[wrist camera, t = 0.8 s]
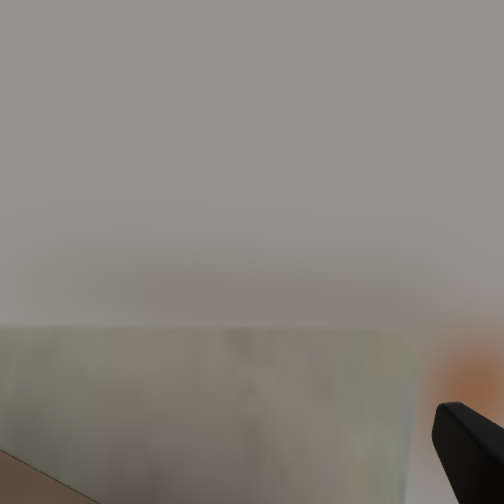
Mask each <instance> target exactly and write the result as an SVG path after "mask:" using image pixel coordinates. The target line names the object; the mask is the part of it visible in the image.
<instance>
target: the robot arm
mask: <svg viewBox="0 0 504 504" xmlns="http://www.w3.org/2000/svg"><path fill="white" fill-rule="evenodd" d="M432 441H433V445H434V447H435V450H436V452H437V454H438V457H439V459H440V461H441V463H442V466H443V468H444V470H445V473H446V475H447V477H448V480H449V482H450V484H451V486H452V489H453V491H454V494H455V496H456V498H457V500H458V502H459V504H504V428H502V427H500V426H499V425H497V424H496V423H493V422H492V421H491V420H489V419H487V418H486V417H484V416H482V415H481V414H479V413H477V412H476V411H474V410H472V409H471V408H469V407H467V406H466V405H464V404H462V403H460V402H447V403H441V404H439V405H438V407H437V409H436V414H435V419H434V424H433V429H432Z"/></svg>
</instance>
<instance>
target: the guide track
mask: <svg viewBox="0 0 504 504" xmlns="http://www.w3.org/2000/svg"><path fill="white" fill-rule="evenodd" d="M0 504H99V503H98V502H96V501H94V500H92V499H90V498H88V497H86V496H85V495H83V494H81V493H79V492H77V491H75V490H74V489H72V488H70V487H68V486H66V485H64V484H63V483H61V482H59V481H57V480H55V479H53V478H52V477H50V476H48V475H46V474H44V473H42V472H40V471H39V470H37V469H35V468H33V467H31V466H29V465H28V464H26V463H24V462H22V461H20V460H18V459H17V458H15V457H13V456H11V455H9V454H7V453H6V452H4V451H2V450H0Z"/></svg>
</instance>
